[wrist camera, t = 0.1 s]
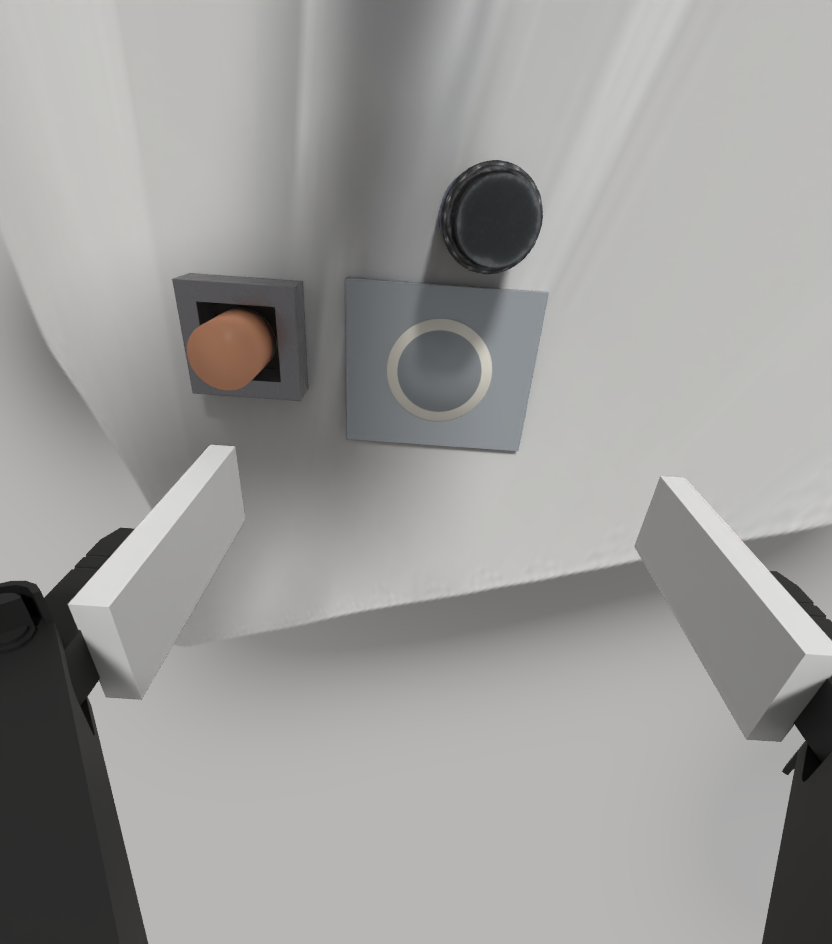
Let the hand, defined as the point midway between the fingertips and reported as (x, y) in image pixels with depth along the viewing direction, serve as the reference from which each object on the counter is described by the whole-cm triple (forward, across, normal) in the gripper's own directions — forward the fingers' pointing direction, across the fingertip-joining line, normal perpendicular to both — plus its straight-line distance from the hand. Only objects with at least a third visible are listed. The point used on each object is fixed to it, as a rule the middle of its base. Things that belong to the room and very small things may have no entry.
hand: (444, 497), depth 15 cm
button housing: (+28, -15, -3) cm, 32 cm away
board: (+28, +1, -5) cm, 28 cm away
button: (+26, -15, -3) cm, 30 cm away
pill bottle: (+28, +3, +7) cm, 29 cm away
